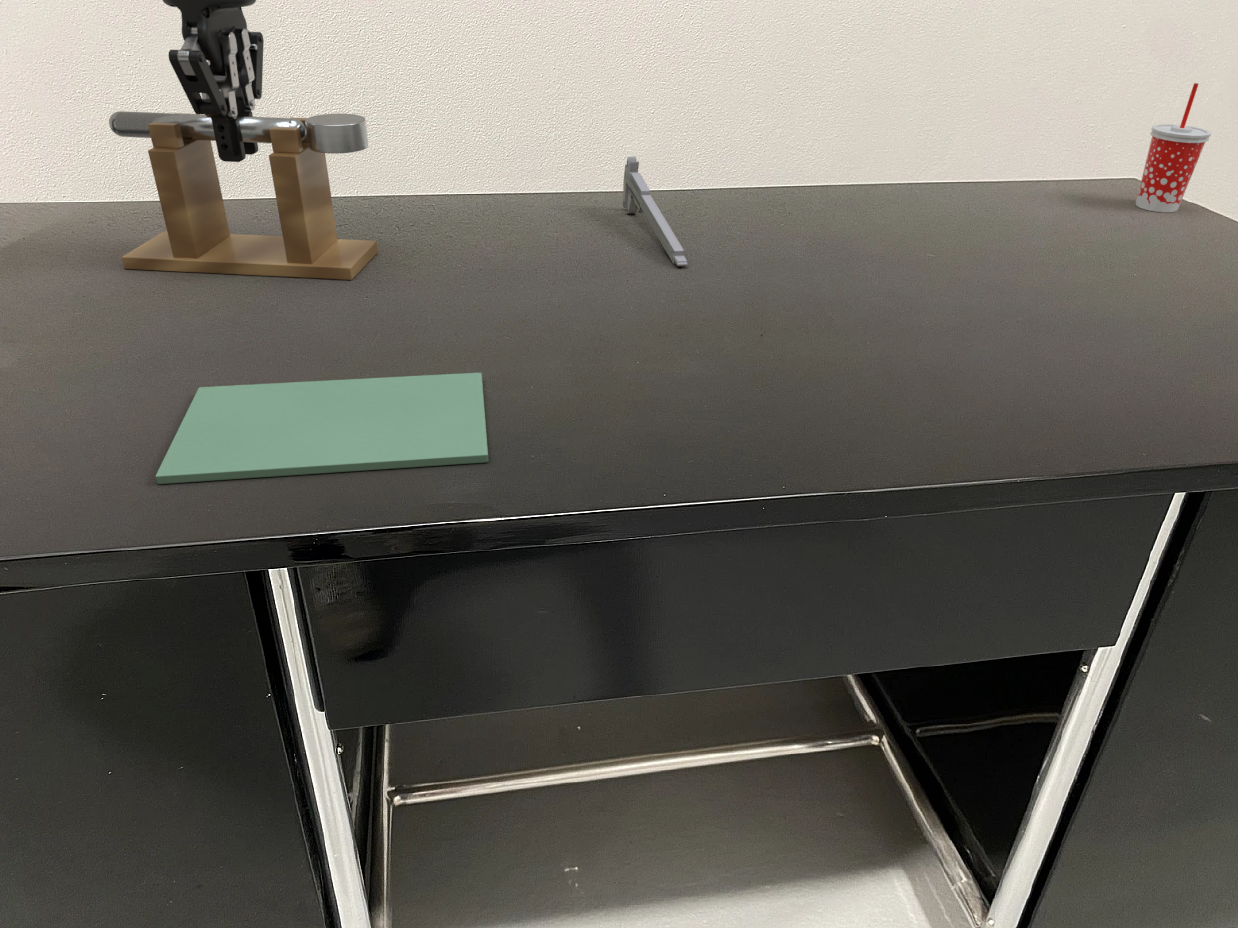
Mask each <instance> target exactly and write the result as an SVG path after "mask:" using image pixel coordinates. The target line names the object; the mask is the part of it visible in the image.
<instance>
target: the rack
mask: <svg viewBox="0 0 1238 928" xmlns="http://www.w3.org/2000/svg"><path fill="white" fill-rule="evenodd" d="M174 114H186V113H185V112H183V113H182V112H175V113H174ZM198 115H201V114H198ZM293 118H294V119H298V120H300V121H301V122H302V123H303V124H304V125H305V127H306V124H305V120H306V119H307V118H308V117H293ZM148 127H149V132H150V136H151V138H150V139H151V140H150V141H151V144H152V148H150V149H148V150H147V153H148V157H149V161H150V162H149V163H150V166H151V169H152V174H153V178H154V182H155V186H156V190H157V191H156V192H157V195H158V199H159V203H160V207H161V211H162V216H163V220H164V222H165V223H164V224H165V228H166V230H163V231H161V232H160V233H158V234H157V235H155V236H153V237H152V238H150V239H149V240H147V241H145V242H144V243H142V244H140V245H139V246H137V247H135V248H134V249H132V250H131V251H129V252H128V253H126V254H124V255H122V256H121V261H122V265H123V268H124V269H125V270H137V271H138V270H139V271H140V270H141V271H157V272H158V271H159V272H181V273H201V274H202V273H203V274H221V275H222V274H223V275H224V274H225V275H242V276H259V277H261V276H263V277H281V278H301V279H302V278H303V279H304V278H305V279H325V280H341V281H342V280H343V281H344V280H345V281H352V280H353V279H354V278H355V277H356V276H357V275H358V274H359V273H361V271H362V270H363V269H364V268H365V267H366V265H367V264H368V263H369V262H370V261H372V259H373V258H374V257H375V256H376V255H377V254H378V253H379V249H378V242H377V240H366V239H349V238H348V239H345V238H338V233H337V227H336V220H335V215H334V214H335V212H334V205H333V199H332V192H331V185H330V184H331V183H330V179H329V171H328V163H327V158H326V153H320V152H315V151H312V150H310V149H309V144H308V138H307V135H306V138H305V140H304V141H303V142H302V141H301V134H300V128H293V127H272V128H271V129H269V131H270V137H271V143H270V144H271V148H272V153H270V154H268V160H269V166H270V172H271V177H272V182H273V188H274V194H275V200H276V205H277V212H278V217H279V222H280V223H279V224H280V228H281V229H280V230H281V234H282V235H281V236H280V235H278V236H277V235H259V234H236V233H230V228H229V223H228V218H227V213H226V208H225V203H224V199H223V193H222V190H221V189H222V188H221V183H220V180H219V174H218V169H217V164H216V159H215V155H214V149H213V144H212V141H207V140H183V139H182V134H181V130H180V125H179V123H166V122H152V123H150V124H148Z"/></svg>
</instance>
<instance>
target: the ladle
mask: <svg viewBox="0 0 1238 928" xmlns="http://www.w3.org/2000/svg"><path fill="white" fill-rule="evenodd" d="M237 118H239V122H240V127H241V134H242V138H243V142H253V143H258V144H272V143H271V137H270V131H269V129H271V128H272V127H293V128H300V134H301V141H302V142H303V141H304V140H305V138H306V135H307V138H308V144H309V149H310V150H312V151H315V152H320V153H325V154H330V155H331V154H332V155H333V154H337V155H338V154H350V153H356V152H360V151H364V150H366V149H368V147H369V137H368V130H367V129H368V128H367V121H366V118H365V116H363V115H358V114H354V113H353V114H352V113H326V114H325V113H324V114H317V115H313V116H309V117H306V118H307V119H306V120H305V124H306V127H305V125H304V124H303V123H302V122H301V121H300V120H298V119H294V118H295V117H268V116H253V117H247V116H237ZM152 122H166V123H179V125H180V130H181V134H182V139H183V140H207V141H211V142H216V140H215V135H214V130H213V125H212V120H211V118H208V117H207V116H206V115H204V114H200V115H198V114H196V113H185V114H175V113H169V112H148V111H147V112H146V111H124V110H122V111H121V110H119V111H115V112H113V113H112V114H111V115H110V116H109V119H108V126H109V129H110V130H111V131H112V132H113V133H114V134H115V135H117V136H119V137H122V138H137V139H139V138H140V139H151V136H150V132H149V127H148V124H150V123H152Z"/></svg>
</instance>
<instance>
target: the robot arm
mask: <svg viewBox="0 0 1238 928" xmlns="http://www.w3.org/2000/svg"><path fill="white" fill-rule="evenodd" d="M162 2H163V3H164V4H165V5H167V6H168V7H172V8H177V9H178V10H179V11H180V15H181V34H182V35H181V36H182V38H183V39H182V40H183V41H184V42H183V44H182V46H181V48H180V49H169V50H168V61H169V63H170V65H171V67H172V69H173V71H174V73H175V75H176V78H177V79H178V81H179V83H180V85H181V87H182V89H183V91H184V93H185V96H186V97H187V100H188V101H189V103H190V105H191V108H192V110H193V112H194V114H200V115H206V116H207V117H208V118H211V120H212V125H213V130H214V135H215V140H216V141H215V145H216V149H217V154H218V158H219V159H220V160H221V161H222V162H224V163H225V162H226V163H240V162H243V161H244V160H246V158H247V156H246V155H249V156H251V155H255V154H256V153H257V152H259V143H253V142H243V138H242V134H241V127H240V122H239V118H237V116H247V117H254V116H253V111H255V108H256V101H255V100H261V99H262V97H263V74H264V73H263V72H264V71H263V69H264V68H263V67H264V36H263V33H262V32H260V31H250V30H249V29H248V24H247V20H246V18H245V15H244V12H243V9H242V8H245V7H251V6H252V5H254V4H256V2H257V0H162Z"/></svg>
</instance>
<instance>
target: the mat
mask: <svg viewBox="0 0 1238 928" xmlns="http://www.w3.org/2000/svg"><path fill="white" fill-rule="evenodd" d="M484 397H485V396H484V385H483V373H482V372H465V373H446V374H445V373H443V374H424V375H407V376H406V375H405V376H387V377H385V376H384V377H370V378H351V379H329V380H311V381H294V382H292V381H290V382H274V383H273V382H271V383H256V384H253V383H252V384H236V385H219V386H218V385H217V386H215V385H214V386H199V387H198V389H197V391H196V392H195V394H194V396H193V398H192V401H191V402H190V405H189V406H188V409H187V410H186V413H185V415H184V417H183V419H182V421H181V423H180V425H179V427H178V429H177V431H176V433H175V436H174V437H173V439H172V441H171V443H170V445H169V448H168V450H167V452H166V453H165V456H164V457H163V460H162V462H161V464H160V466H159V468H158V470H157V471H156V473H155V480H156V484H157V485H165V484H166V485H168V484H181V483H182V484H183V483H197V482H198V483H199V482H214V481H226V480H227V481H228V480H242V479H259V478H271V477H272V478H273V477H274V478H275V477H287V476H303V475H318V474H334V473H348V472H361V471H362V472H364V471H365V472H366V471H378V470H392V469H407V468H408V469H409V468H422V467H437V466H439V467H440V466H451V465H452V466H453V465H454V466H455V465H470V464H483V463H484V464H485V463H489V449H488V438H487V437H488V435H487V426H486V425H487V423H486V422H487V421H486V412H485V410H486V409H485V399H484Z"/></svg>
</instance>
